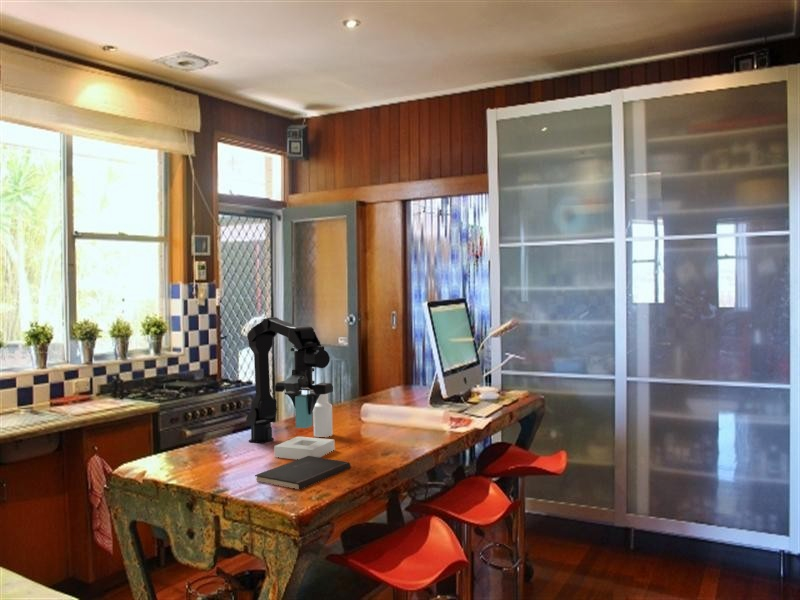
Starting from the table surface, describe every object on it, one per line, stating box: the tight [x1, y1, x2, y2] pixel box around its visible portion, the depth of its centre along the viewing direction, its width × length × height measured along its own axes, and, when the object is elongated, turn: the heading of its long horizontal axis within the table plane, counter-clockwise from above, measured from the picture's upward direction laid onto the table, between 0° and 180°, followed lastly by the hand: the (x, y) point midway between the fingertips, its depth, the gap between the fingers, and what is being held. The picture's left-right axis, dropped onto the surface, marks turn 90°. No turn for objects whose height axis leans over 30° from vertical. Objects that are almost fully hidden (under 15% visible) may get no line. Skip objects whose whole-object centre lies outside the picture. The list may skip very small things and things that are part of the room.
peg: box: [294, 393, 314, 429], centre depth 204 cm, size 4×4×10 cm
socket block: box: [273, 436, 336, 460], centre depth 204 cm, size 14×14×4 cm
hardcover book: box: [254, 456, 351, 490], centre depth 181 cm, size 16×23×2 cm
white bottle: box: [313, 393, 334, 438], centre depth 229 cm, size 7×7×18 cm
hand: (304, 414), depth 204 cm, fingers closed on peg, 4 cm apart
